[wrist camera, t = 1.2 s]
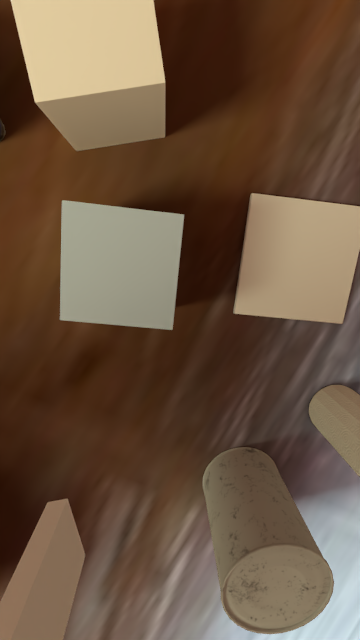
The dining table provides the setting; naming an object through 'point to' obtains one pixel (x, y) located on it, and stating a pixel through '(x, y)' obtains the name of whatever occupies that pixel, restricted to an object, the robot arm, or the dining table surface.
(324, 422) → the paper towel roll
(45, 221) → the dining table surface
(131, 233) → the pale sage cube
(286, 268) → the mat
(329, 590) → the speckled beige cylinder
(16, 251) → the dining table surface
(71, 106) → the beige rectangular block
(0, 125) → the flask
